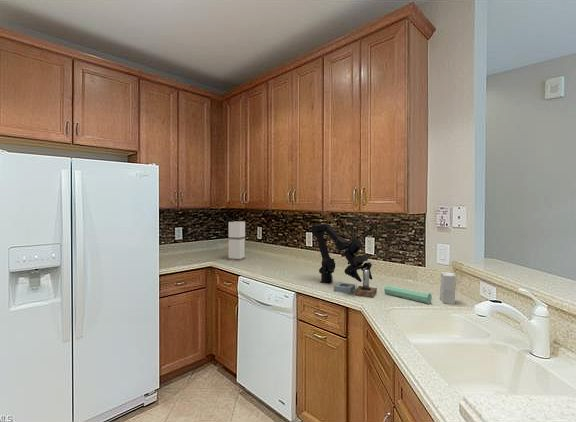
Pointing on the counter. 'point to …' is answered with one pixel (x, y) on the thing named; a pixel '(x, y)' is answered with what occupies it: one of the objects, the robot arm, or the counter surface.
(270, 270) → the counter surface
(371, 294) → the brown square frame
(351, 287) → the socket block
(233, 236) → the white square tower
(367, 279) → the axle
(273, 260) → the counter surface
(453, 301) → the skincare box
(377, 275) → the counter surface
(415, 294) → the green faceted rod
